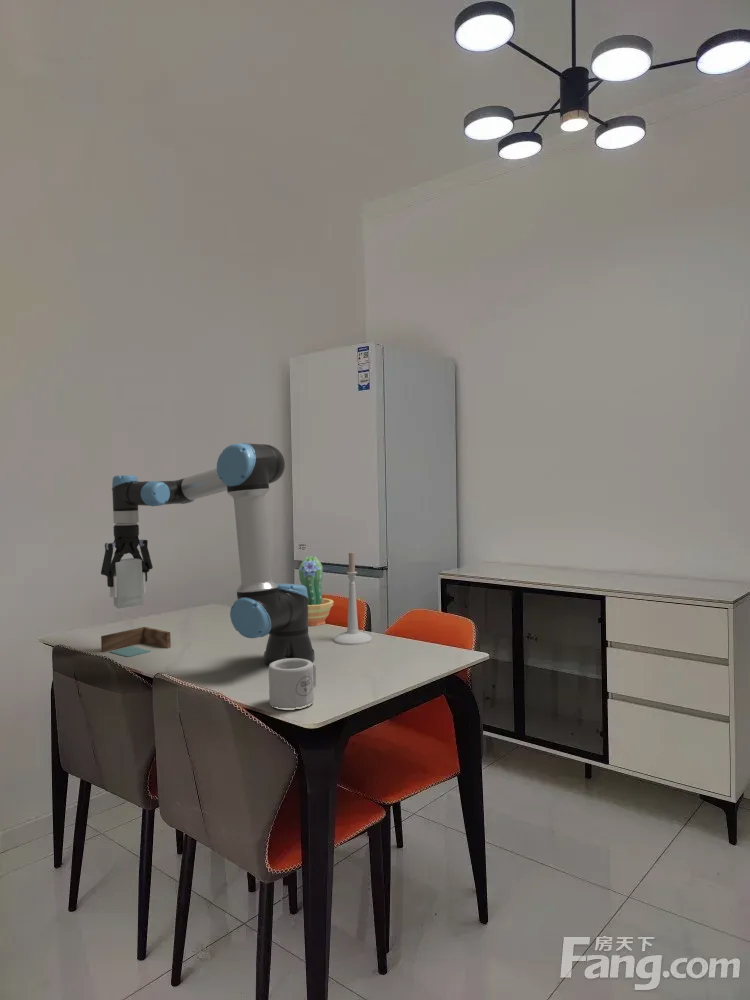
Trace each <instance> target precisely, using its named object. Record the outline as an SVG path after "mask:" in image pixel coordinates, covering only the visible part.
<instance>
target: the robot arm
mask: <svg viewBox="0 0 750 1000" xmlns="http://www.w3.org/2000/svg"><path fill="white" fill-rule="evenodd" d="M285 468H286V462H285V458H284V455H283V454H282V452H281V451H280V450H279V449H278V448H277V447H275V446H274V445H273V446H272V445H270V444H264V443H263V444H261V443H247V442H244V443H243V442H240V443H233V444H229V445H228V446H226V447H225V448H223V450H222V451H221V453H220V454H219V455H218V458H217V462H216V468H213V469H210V470H207V471H206V470H205V471H203V472H200V473H197V474H193V475H190V476H187V477H183V478H179V479H177V480H151V481H145V480H144V481H138V477H137V475H134V474H133V475H132V474H131V475H121V474H120V475H114V476H113V477H112V480H111V481H112V485H111V486H112V487H111V491H112V494H111V495H112V511H113V512H112V513H113V514H112V515H113V516H112V517H113V521H112V522H113V524H115V525H114V526H113V527H112V528H113V538H114V539H113V540H114V541H113V542H110V543H108V542H106V543H104V550H105V551H104V556H103V560H102V565H101V570H100V574H101V575H102V576H106V579H107V580H106V583H107V587H108V588H109V597H110V598H113V599H114V598H116V597H117V577H116V576H114V574H115V572H116V567H115V563H116V562H120V560H122V558H123V557H124V556H125V555H128V554H130V555H132V558H137V559H140V560H142V580H143V594H146V593H147V592H146V591H147V589H146V582H148V573H149V572H150V570H153V567H154V566H153V564H152V560H151V556H150V551H149V547H148V543H149V542H148V541H149V540H147V539H140V538H139V535H140V529H139V528H140V527H139V524H138V523H139V521H140V519H139V506H145V507H148V506H149V507H160V506H164V505H179V504H180V505H185V504H189V503H193V502H194V501H195V500H196V499H197V500H198V499H201V498H204V497H208V496H211V495H215V494H218V493H223V492H227V494H228V495H229V497H231V498H232V499H233V505H234V517H235V526H236V540H237V547H238V548H237V551H238V558H239V560H238V561H239V570H240V580H241V581H240V583H241V584H239V585H240V586H239V587H238V588H237V589H236V598H237V599H236V600H234V602H233V604H232V606H231V607H230V610H229V612H230V613H229V617H230V622H231V625H232V626H233V628H234V629H235V630H236V631H237V632H238V633H239V634H240V635H241V636H242V637H244V638H247V639H258V638H263V637H266V636H268V639H267V643H266V646H265V651H264V653H263V663H264V664H266V665H267V666H269V665H270V664H271V663H272V662H274V661H277V660H281V659H288V658H300V659H306V660H309V661H311V662H312V663H314V661H315V658H316V657H315V650H314V648H313V645H312V641H311V638H310V634H309V626H308V594H307V588H306V587H305V586H304V585H302V584H296V583H276V582H274V580H273V575H272V565H271V564H272V563H271V554H270V552H271V551H270V542H269V541H270V540H269V531H268V521H267V520H268V519H267V509H266V500H265V499H266V498H265V497H266V495H267V493H268V492H269V490H270V484H272V483H274V482H277V481H278V480H279V479H280V478H281V477H282V475H283V474H284V472H285ZM138 547H139V548H138ZM140 553H141V554H140Z"/></svg>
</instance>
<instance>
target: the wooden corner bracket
mask: <svg viewBox="0 0 750 1000" xmlns="http://www.w3.org/2000/svg"><path fill="white" fill-rule="evenodd" d="M100 642H101V643H100V645H101V648H100V649H101V652H102V653H106V652H110V651H114V650H118V649H122V648H126V647H131V646H135V645H140V644H149V645H153V646H156V647H157V646H158V647H161V648H166V649H170V648H171V647H172V646H171V645H172V643H171V632H170V631H165V630H162V629H158V628H152V627H147V626H142V627H137V628H132V629H128V630H122V631H120V632H114V633H109V634H106V635H101V636H100Z"/></svg>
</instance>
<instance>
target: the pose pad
mask: <svg viewBox="0 0 750 1000" xmlns="http://www.w3.org/2000/svg"><path fill="white" fill-rule="evenodd" d="M150 652H151V650H148V649H146V648H145V649H144V648H141V647H138V646H137V647H136V646H134V645H132V646H128V647H124V648H119V649H115V650H111V651H109V653H110V654H115V655H119V656H121V657H125V658H129V657H134V656H135V657H136V656H139V655H142V654H146V653H150Z"/></svg>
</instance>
